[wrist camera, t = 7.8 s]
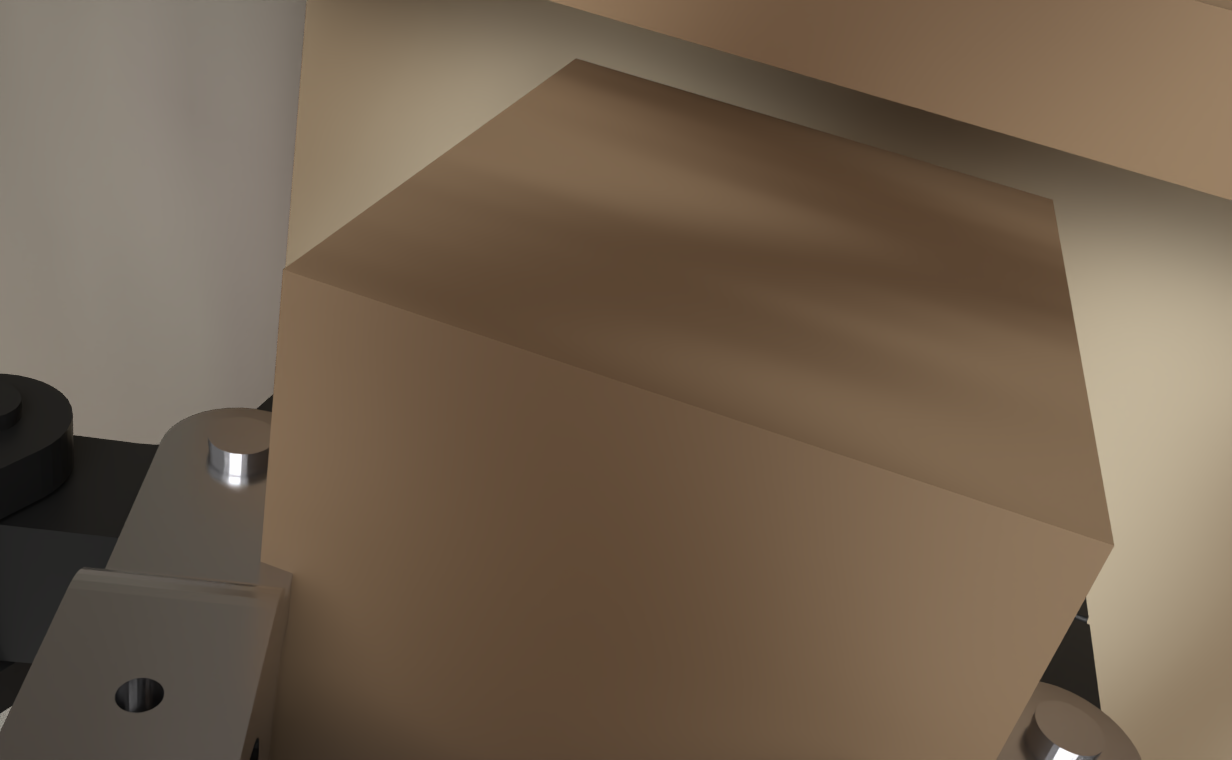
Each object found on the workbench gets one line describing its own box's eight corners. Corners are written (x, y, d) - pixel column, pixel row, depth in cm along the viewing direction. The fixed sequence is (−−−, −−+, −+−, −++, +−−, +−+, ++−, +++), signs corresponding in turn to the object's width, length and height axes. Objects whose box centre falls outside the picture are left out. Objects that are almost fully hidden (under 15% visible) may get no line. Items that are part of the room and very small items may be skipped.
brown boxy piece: (1052, 199, 12) (1115, 547, 6) (766, 857, 17) (673, 1343, 12) (576, 58, 12) (283, 269, 7) (441, 734, 17) (215, 1142, 12)
